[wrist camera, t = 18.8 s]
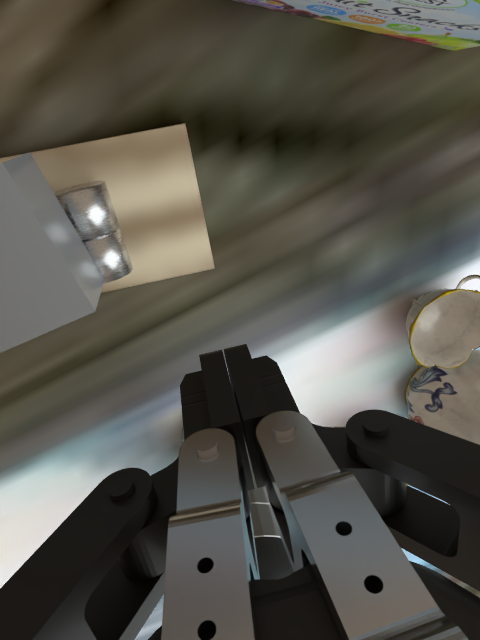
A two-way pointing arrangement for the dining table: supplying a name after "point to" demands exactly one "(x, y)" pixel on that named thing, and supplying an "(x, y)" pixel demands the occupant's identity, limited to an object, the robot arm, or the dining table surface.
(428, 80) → the dining table surface
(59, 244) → the slab
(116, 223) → the cylinder
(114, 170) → the deck
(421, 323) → the chinaware
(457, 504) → the robot arm
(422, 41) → the snack box
